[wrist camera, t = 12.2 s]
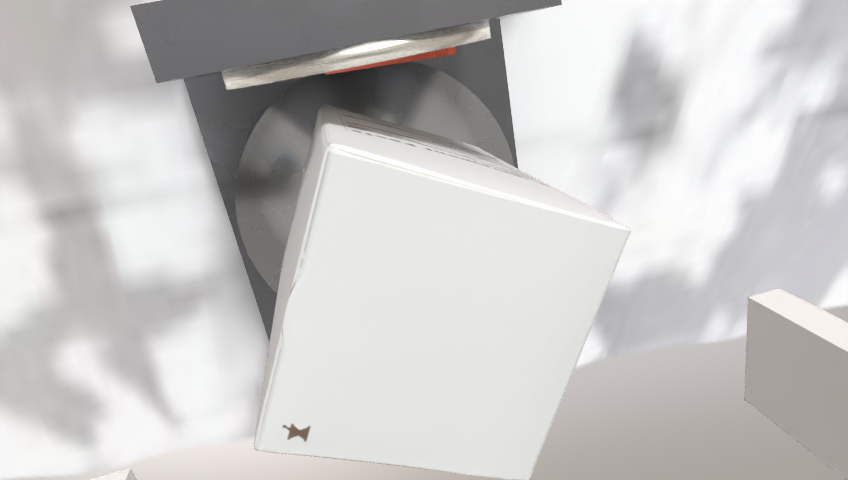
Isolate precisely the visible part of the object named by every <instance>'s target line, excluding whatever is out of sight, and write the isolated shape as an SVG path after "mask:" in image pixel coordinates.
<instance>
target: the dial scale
mask: <svg viewBox="0 0 848 480" xmlns="http://www.w3.org/2000/svg"><path fill="white" fill-rule="evenodd" d="M558 5H562V4H561V0H162V1H156V2H150V3H145V4H139V5H134V6H130V7H131V10H132V13H133V16H134V18H135V21H136V24H137V27H138V30H139V33H140V36H141V39H142V42H143V44H144V47H145V50H146V53H147V56H148V59H149V62H150V65H151V68H152V71H153V73H154V76H155V79H156V82H157V83H162V82H168V81H175V80H182V79H184V81H185V84H186V87H187V90H188V93H189V96H190V99H191V103H192V106H193V109H194V112H195V115H196V118H197V121H198V124H199V127H200V130H201V133H202V136H203V139H204V142H205V145H206V148H207V151H208V154H209V158H210V161H211V164H212V167H213V170H214V173H215V176H216V179H217V182H218V185H219V188H220V191H221V194H222V197H223V200H224V203H225V206H226V209H227V213H228V216H229V219H230V222H231V225H232V228H233V231H234V234H235V237H236V240H237V243H238V246H239V249H240V252H241V255H242V258H243V261H244V264H245V268H246V271H247V274H248V277H249V280H250V283H251V286H252V289H253V292H254V295H255V298H256V301H257V304H258V307H259V310H260V313H261V316H262V319H263V323H264V326H265V329H266V332H267V335H268V338H269V341H270V337H271V331H272V325H273V318H274V312H275V306H276V299H277V293H278V287H279V281H280V275H281V268H282V262H283V257H284V252H285V248H286V244H287V239H288V235H289V231H290V226H291V222H292V218H293V213H294V209H295V205H296V201H297V196H298V192H299V188H300V184H301V180H302V175H303V171H304V167H305V163H306V159H307V155H308V151H309V147H310V143H311V139H312V135H313V131H314V127H315V123H316V119H317V115H318V111H319V108H320V107H321V105H323V104H327V105H331V106H335V107H339V108H342V109H346V110H349V111H353V112H356V113H360V114H363V115H367V116H371V117H374V118H378V119H381V120H385V121H388V122H392V123H395V124H399V125H402V126H406V127H409V128H413V129H417V130H420V131H424V132H427V133H431V134H434V135H438V136H442V137H445V138H449V139H452V140H456V141H459V142H463V143H466V144H470V145H473V146H476V147H479V148H480V149H482V150H484V151H486V152H488V153H489V154H491V155H493V156H495V157H497V158H499V159H500V160H502V161H504V162H506V163H508V164H510V165H512V166H514V167H515V168H517V169H518V164H517V156H516V148H515V140H514V132H513V124H512V116H511V108H510V99H509V91H508V83H507V75H506V67H505V59H504V51H503V43H502V35H501V26H500V18H504V17H509V16H513V15H518V14H522V13H527V12H531V11H536V10H540V9H545V8H549V7H554V6H558Z"/></svg>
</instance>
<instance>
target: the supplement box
mask: <svg viewBox="0 0 848 480" xmlns="http://www.w3.org/2000/svg"><path fill="white" fill-rule="evenodd" d="M630 232H631V229H630V228H628V227H626V226H624V225H623V224H621V223H619V222H617V221H616V220H614V219H612V218H610V217H609V216H607V215H605V214H603V213H601V212H599V211H598V210H596V209H594V208H592V207H590V206H588V205H586V204H584V203H583V202H581V201H579V200H577V199H575V198H573V197H571V196H569V195H567V194H565V193H563V192H561V191H559V190H557V189H556V188H554V187H552V186H550V185H548V184H546V183H544V182H542V181H540V180H538V179H536V178H534V177H533V176H531V175H529V174H527V173H525V172H523V171H521V170H519V169H517V168H515V167H514V166H512V165H510V164H508V163H506V162H504V161H502V160H500V159H499V158H497V157H495V156H493V155H491V154H489V153H488V152H486V151H484V150H482V149H480V148H479V147H476V146H473V145H470V144H466V143H463V142H459V141H456V140H452V139H449V138H445V137H442V136H438V135H434V134H431V133H427V132H424V131H420V130H417V129H413V128H409V127H406V126H402V125H399V124H395V123H392V122H388V121H385V120H381V119H378V118H374V117H371V116H367V115H363V114H360V113H356V112H353V111H349V110H346V109H342V108H339V107H335V106H331V105H327V104H323V105H321V107H320V108H319V111H318V115H317V119H316V123H315V127H314V131H313V135H312V139H311V143H310V147H309V151H308V155H307V159H306V163H305V167H304V171H303V175H302V180H301V184H300V188H299V192H298V196H297V201H296V205H295V209H294V213H293V218H292V222H291V226H290V231H289V235H288V239H287V244H286V248H285V252H284V257H283V262H282V268H281V275H280V281H279V287H278V293H277V299H276V306H275V312H274V318H273V325H272V331H271V337H270V343H269V350H268V356H267V362H266V368H265V375H264V381H263V388H262V394H261V400H260V407H259V413H258V420H257V426H256V433H255V440H254V449H255V450H257V451H264V452H271V453H282V454H294V455H305V456H315V457H324V458H334V459H343V460H352V461H362V462H370V463H379V464H388V465H396V466H405V467H413V468H421V469H427V470H435V471H443V472H450V473H457V474H464V475H471V476H479V477H487V478H499V479H512V480H529V479H530V477H531V475H532V472H533V469H534V467H535V464H536V461H537V459H538V456H539V454H540V451H541V449H542V446H543V444H544V442H545V439H546V437H547V434H548V432H549V429H550V427H551V424H552V422H553V420H554V417H555V415H556V412H557V410H558V407H559V405H560V403H561V400H562V398H563V395H564V393H565V390H566V388H567V385H568V383H569V380H570V378H571V375H572V373H573V371H574V369H575V366H576V364H577V361H578V359H579V356H580V354H581V351H582V349H583V346H584V344H585V341H586V339H587V337H588V334H589V332H590V329H591V327H592V324H593V322H594V319H595V317H596V314H597V312H598V310H599V307H600V305H601V302H602V300H603V297H604V295H605V292H606V290H607V288H608V285H609V283H610V280H611V278H612V275H613V273H614V270H615V268H616V266H617V263H618V261H619V258H620V256H621V253H622V251H623V249H624V246H625V244H626V241H627V239H628V237H629V234H630Z"/></svg>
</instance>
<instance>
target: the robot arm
mask: <svg viewBox="0 0 848 480" xmlns="http://www.w3.org/2000/svg"><path fill="white" fill-rule="evenodd" d="M746 345H747V346H746V369H745V395H744V400H745V401H747V402H748V403H749V404H751V405H752V406H753V407H754V408H756V409H757V410H758V411H760V412H761V413H762V414H763V415H764V416H766V417H767V418H768V419H770V420H771V421H772V422H773V423H775V424H776V425H777V426H778V427H780V428H781V429H782V430H783V431H785V432H786V433H787V434H788V435H790V436H791V437H792V438H794V439H795V440H796V441H797V442H798V443H800V444H801V445H802V446H803V447H805V448H806V449H808V451H810V452H811V453H812V454H814V455H815V456H816V457H817V458H819V459H820V460H821V461H822V462H824V463H825V464H826V465H828V466H829V467H830V468H831V469H832V470H834V471H835V472H836V473H837V474H839V475H840V476H841V477H843V478H844V479H845V480H848V323H847V322H846V321H843V320H842V319H839V318H838V317H836V316H833V315H831V314H829V313H827V312H825V311H823V310H821V309H819V308H817V307H815V306H813V305H811V304H809V303H807V302H805V301H803V300H801V299H799V298H797V297H795V296H793V295H791V294H789V293H787V292H785V291H783V290H781V289H776V290H772V291H768V292H765V293H761V294H758V295H754V296H750V297H748V315H747V342H746ZM89 480H136V478H135V476H134V474H133V471H132V469H131V468H129V469H125V470H122V471H118V472H114V473H111V474H107V475H103V476H100V477H96V478H92V479H89Z"/></svg>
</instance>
